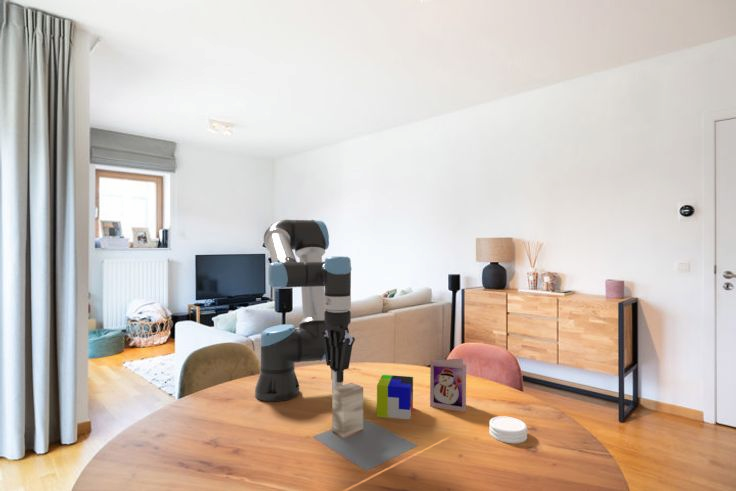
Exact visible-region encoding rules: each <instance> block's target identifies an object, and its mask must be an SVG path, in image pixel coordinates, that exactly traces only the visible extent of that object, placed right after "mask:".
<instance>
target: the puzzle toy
mask: <svg viewBox="0 0 736 491" xmlns="http://www.w3.org/2000/svg"><path fill="white" fill-rule="evenodd" d="M378 380H379V381H378V383H377V385H376V417H378V418H390V419H399V420H411V417H412V412H413V409H414V405H413V404H414V376H404V375H392V374H390V375H389V374H381V376H380V379H378Z"/></svg>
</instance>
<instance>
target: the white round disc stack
mask: <svg viewBox="0 0 736 491" xmlns="http://www.w3.org/2000/svg"><path fill="white" fill-rule="evenodd" d="M488 423H489V426H488V427H489V432H488V433H489V435H490V436H491V437H492V438H493V439H495V440H497V441H499V442H502V443H505V444H521V443H524V442H526V441H527V439H528V426H527V424H526V423H525V422H524V421H522V420H520V419H518V418H515V417H512V416H504V415H502V416H501V415H500V416H494V417H492V418H490V419H489V422H488Z"/></svg>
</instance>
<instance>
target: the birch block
mask: <svg viewBox="0 0 736 491" xmlns="http://www.w3.org/2000/svg"><path fill="white" fill-rule="evenodd" d="M331 394H332V405H331V406H332V407H331V408H332V409H331V410H332V412H331V415H332V416H331V417H332V418H331V419H332V420H331V421H332V423H331V425H332V428H331V430H332V433H334V434H336V435H338V436H339V437H341V438H343V439H344V438H347V437H349V436H352V435H354V434H357V433H359V432H362V431H363V418H364V387H363V386H361V385H358V384H356V383H354V382H350V383H346V384H343V385H342V386H338V387H335V388H333V389H332V388H331Z"/></svg>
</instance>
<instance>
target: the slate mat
mask: <svg viewBox="0 0 736 491" xmlns="http://www.w3.org/2000/svg"><path fill="white" fill-rule="evenodd" d="M312 438H314V439H315V440H317V441H319V442H321V443H322V444H323V445H325V446H326V447H328V448H329V449H331V450H333V451H334V452H335V453H338V454H339V455H341V456H342V457H344V458H345V459H346V460H348V461H350V462H351V463H353V464H355V465H356V466H357V467H359V468H361V469H362V470H364V471H365V472H368V471H370V470H372V469H374V468H376V467H377V466H380V465H382V464H384V463H386V462H388V461H390V460H392V459H394V458H395V457H397V456H400V455H402V454H403V453H406V452H408V451H410V450H412V449H414V448H416V447H418V446H419V445H418V444H417V443H414V442H412V441H410V440H408V439H406V438H403V437H402V436H400V435H398V434H396V433H394V432H392V431H390V430H388V429H386V428H384V427H382V426H380V425H378V424H376V423H374V422H371V421H370V420H367V419H365V418H364V417H363V431H362V432H359V433H357V434H354V435H352V436H349V437H347V438H344V439H343V438H341V437H339V436H338V435H336V434H334V433H332V429H329V430H326V431H324V432H322V433H319V434H315V435H313V436H312Z"/></svg>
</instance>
